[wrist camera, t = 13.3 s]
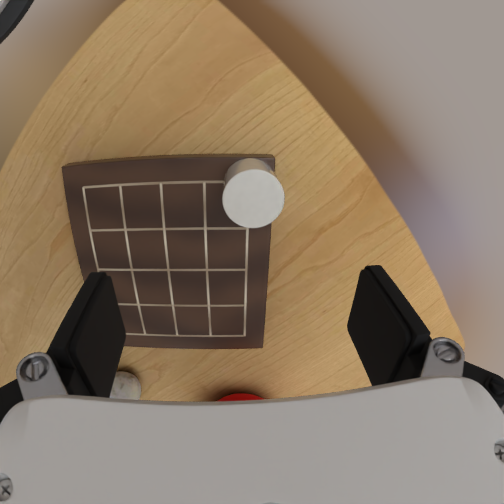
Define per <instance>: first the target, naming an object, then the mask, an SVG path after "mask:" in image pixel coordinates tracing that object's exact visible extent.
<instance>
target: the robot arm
mask: <svg viewBox="0 0 504 504" xmlns="http://www.w3.org/2000/svg"><path fill="white" fill-rule="evenodd" d="M9 1H10V0H0V13H1V12H2V11H3V9H4V8H5V7H6V5H7V4H8V2H9ZM347 328H348V332H349V335H350V337H351V339H352V341H353V343H354V346H355V348H356V350H357V352H358V354H359V357H360V359H361V361H362V363H363V366H364V368H365V370H366V373H367V375H368V377H369V379H370V382H371V384H372V386H370V387H364V388H358V389H352V390H346V391H339V392H332V393H325V394H317V395H308V396H298V397H288V398H277V399H263V400H246V401H216V402H178V401H150V400H132V399H117V398H110V394H111V390H112V386H113V382H114V379H115V375H116V371H117V367H118V364H119V360H120V357H121V353H122V350H123V346H124V343H125V339H126V330H125V327H124V323H123V320H122V316H121V313H120V309H119V305H118V302H117V298H116V294H115V290H114V286H113V282H112V278H111V276H107V274H106V273H105V272H91V273H90V274H89V275H88V277H87V279H86V280H85V282H84V284H83V286H82V287H81V289H80V291H79V292H78V294H77V296H76V298H75V300H74V301H73V303H72V305H71V307H70V308H69V310H68V312H67V314H66V315H65V317H64V319H63V321H62V323H61V325H60V327H59V329H58V331H57V333H56V335H55V337H54V338H53V340H52V342H51V344H50V347H49V349H48V351H47V353H42V352H35V353H32V354H29V355H27V356H26V357H24V358H23V359H22V360H21V361H20V363H19V364H18V366H17V369H16V376H17V379H15V380H14V381H12V382H10V383H8V384H6V385H4V386H3V387H1V388H0V504H504V379H503V378H502V377H500V376H499V375H496V374H494V373H492V372H489V371H487V370H484V369H482V368H480V367H477V366H475V365H473V364H470V363H468V362H466V361H464V351H463V349H462V348H461V346H460V345H459V344H458V343H456V342H455V341H454V340H451V339H449V338H445V337H438V338H435V339H433V340H432V339H431V337H430V336H429V335H430V331H429V330H428V328H427V327H426V326H425V324H424V323H423V321H422V320H421V319H420V317H419V316H418V314H417V313H416V312H415V310H414V309H413V307H412V306H411V305H410V303H409V302H408V301H407V299H406V298H405V296H404V295H403V294H402V292H401V291H400V290H399V288H398V287H397V286H396V284H395V283H394V282H393V280H392V279H391V278H390V277H389V275H388V274H387V273H386V271H385V270H384V269H383V268H382V266H380V265H372V266H366V267H365V268H364V270H361V272H360V275H359V280H358V284H357V288H356V292H355V296H354V300H353V304H352V308H351V312H350V316H349V320H348V324H347Z"/></svg>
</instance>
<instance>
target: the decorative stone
mask: <svg viewBox="0 0 504 504" xmlns="http://www.w3.org/2000/svg"><path fill="white" fill-rule="evenodd" d="M140 395H141V385H140V382H139V380H138V379H137V377H136V376H134V375H133V374H131V373H129V372H123V371H119V372H116V375H115V379H114V382H113V386H112V390H111V394H110V398H117V399H132V400H139V398H140Z"/></svg>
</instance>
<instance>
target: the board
mask: <svg viewBox="0 0 504 504" xmlns="http://www.w3.org/2000/svg"><path fill="white" fill-rule="evenodd" d="M246 158H255V159H259V160H262V161H263V162H265V163H267V164H268V165H269V166H270V167H271V168H272V170H273V171H275V157H274V156H273V155H267V154H184V155H159V156H141V157H126V158H114V159H102V160H92V161H83V162H74V163H68V164H67V165H65V166H63V167H62V173H63V180H64V187H65V194H66V200H67V206H68V212H69V218H70V223H71V228H72V233H73V238H74V242H75V247H76V251H77V256H78V260H79V264H80V268H81V272H82V276H83V280H84V282H85V280H86V279H87V277H88V275H89V274H90V273H91V272H105V273H106V274H107V276H111V278H112V282H113V286H114V290H115V294H116V298H117V302H118V305H119V309H120V313H121V316H122V320H123V323H124V327H125V330H126V339H125V343H124V346H133V347H152V348H180V349H247V348H263V338H264V325H265V311H266V298H267V283H268V269H269V254H270V239H271V223H272V222H271V223H269V224H268V225H265V226H263V227H259V228H247V227H243V226H240V225H238V224H236V223H235V222H233V221H232V220H231V219H230V218H229V217H228V215H227V214H226V212H225V210H224V207H223V202H222V196H223V180H224V176H225V174H226V172H227V170H228V169H229V168H230V166H231V165H233V164H234V163H235V162H237V161H239V160H242V159H246Z"/></svg>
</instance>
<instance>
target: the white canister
mask: <svg viewBox="0 0 504 504" xmlns="http://www.w3.org/2000/svg"><path fill="white" fill-rule="evenodd" d="M284 200H285V195H284V190H283V187H282V185H281V183H280V182H279V180H278V178H277V176H276V175H275V173H274V171H273V170H272V168H271V167H270V166H269V165H268V164H267V163H265V162H263V161H262V160H259V159H255V158H246V159H242V160H239V161H237V162H235V163H234V164H233V165H231V166H230V168H229V169H228V170H227V172H226V174H225V176H224V180H223V196H222V202H223V207H224V210H225V212H226V214H227V215H228V217H229V218H230V219H231V220H232V221H233V222H235V223H236V224H238V225H240V226H243V227H247V228H259V227H263V226H265V225H268V224H269V223H271V222H272V221H274V220H275V219H276V218H277V217H278V215H279V214H280V213H281V211H282V209H283V206H284Z"/></svg>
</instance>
